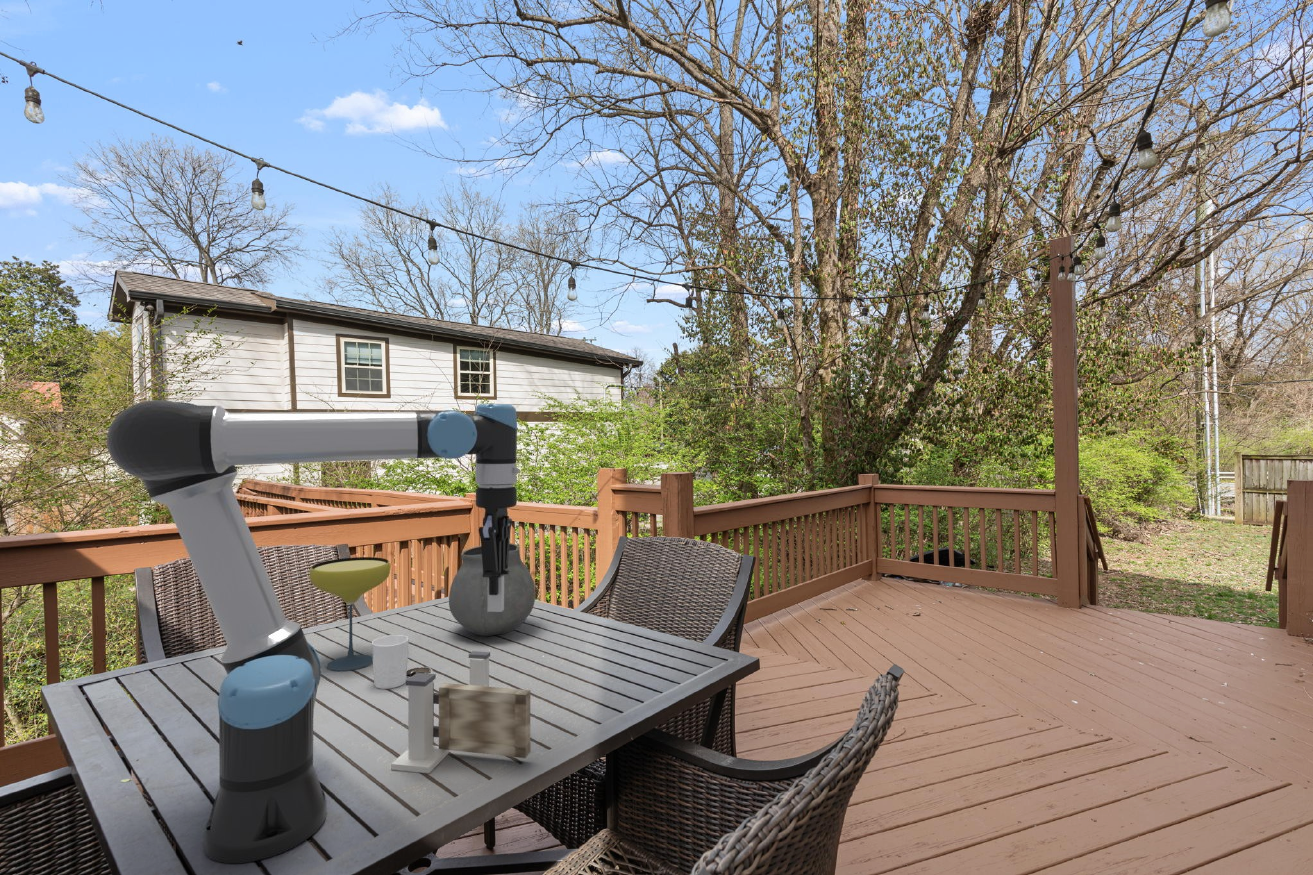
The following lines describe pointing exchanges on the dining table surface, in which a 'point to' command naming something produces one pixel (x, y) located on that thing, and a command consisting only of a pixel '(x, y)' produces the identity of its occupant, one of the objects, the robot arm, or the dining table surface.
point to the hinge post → (420, 728)
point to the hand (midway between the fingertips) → (495, 610)
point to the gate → (483, 719)
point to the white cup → (390, 661)
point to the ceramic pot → (473, 595)
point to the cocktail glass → (350, 593)
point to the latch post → (479, 668)
